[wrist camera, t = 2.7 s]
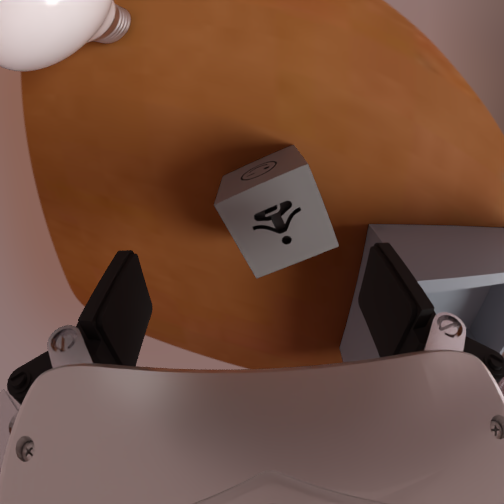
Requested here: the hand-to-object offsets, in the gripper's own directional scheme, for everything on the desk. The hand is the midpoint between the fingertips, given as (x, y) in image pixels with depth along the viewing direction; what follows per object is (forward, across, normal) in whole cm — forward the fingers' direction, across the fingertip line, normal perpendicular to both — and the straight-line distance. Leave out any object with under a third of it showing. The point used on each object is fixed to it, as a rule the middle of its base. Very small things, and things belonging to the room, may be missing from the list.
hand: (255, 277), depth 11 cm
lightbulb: (+10, +8, -13) cm, 18 cm away
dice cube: (+9, -2, 0) cm, 10 cm away
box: (+9, -18, +9) cm, 22 cm away
